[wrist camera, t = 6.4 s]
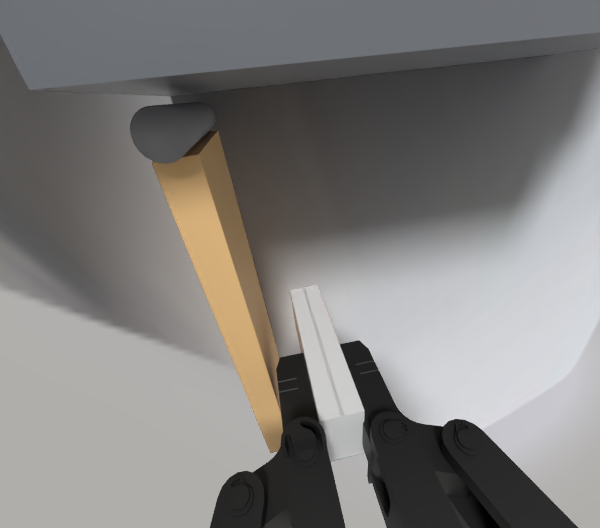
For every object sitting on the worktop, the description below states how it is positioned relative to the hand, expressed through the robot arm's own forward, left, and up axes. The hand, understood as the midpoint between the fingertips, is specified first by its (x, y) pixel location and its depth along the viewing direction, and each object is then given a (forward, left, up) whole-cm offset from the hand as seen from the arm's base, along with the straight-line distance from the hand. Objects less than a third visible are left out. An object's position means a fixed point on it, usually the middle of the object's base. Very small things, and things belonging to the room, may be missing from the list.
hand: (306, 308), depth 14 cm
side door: (-3, +3, -2) cm, 4 cm away
